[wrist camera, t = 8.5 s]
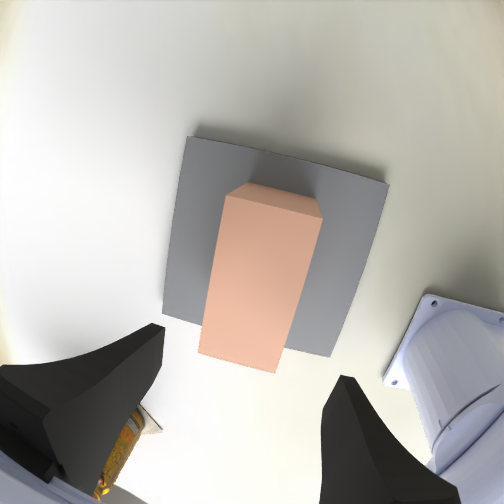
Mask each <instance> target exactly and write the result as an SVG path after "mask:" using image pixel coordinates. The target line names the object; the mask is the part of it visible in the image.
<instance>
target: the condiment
mask: <svg viewBox="0 0 504 504" xmlns="http://www.w3.org/2000/svg"><path fill="white" fill-rule="evenodd" d="M161 432H163V431H162V430H161V429H160V428H159V426H158V425H157V424H156V423H155V422H154V421H153V419H152V418H150V416H149V415H148V414H147V412H146V411H145V410H144V409H143V408H142V407H141V406H140V405H138V406H137V408H136V409H135V411H134V412H133V414H132V415H131V416H130V418H129V419H128V421H127V423H126V424H125V426H124V427H123V429H122V431H121V433H120V435H119V437H118V439H117V441H116V443H115V445H114V447H113V449H112V451H111V453H110V456H109V458H108V460H107V462H106V464H105V467H104V469H103V471H102V474H101V476H100V478H99V481H98V483H97V486H96V488H95V491H94V494H93V496H92V497H93V498H95V499H97V500H99V501H100V499H101V495H103V494H106V493H108V492H109V491H110V489H111V487H112V486H113V483H114V482H115V481H116V479H117V478H118V475H119V473H120V471H121V469H122V468H123V466H124V464H125V462H126V461H127V459H128V457H129V456H130V453H131V451H132V450H133V448H134V446H135V444H136V442H137V441H138V439H139V437H140V435H141V434H151V433H152V434H154V433H161Z"/></svg>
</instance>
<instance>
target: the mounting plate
mask: <svg viewBox="0 0 504 504" xmlns="http://www.w3.org/2000/svg"><path fill="white" fill-rule="evenodd" d="M247 182H250V183H254V184H258V185H263V186H267V187H271V188H275V189H279V190H283V191H287V192H291V193H295V194H299V195H303V196H307V197H311V198H315V199H316V200H317V203H318V206H319V209H320V212H321V215H322V218H323V220H322V224H321V227H320V231H319V234H318V238H317V242H316V245H315V249H314V252H313V255H312V259H311V262H310V266H309V269H308V272H307V276H306V279H305V282H304V286H303V289H302V292H301V295H300V299H299V302H298V305H297V308H296V311H295V315H294V318H293V321H292V324H291V327H290V330H289V333H288V336H287V339H286V342H285V345H284V347H285V348H289V349H293V350H297V351H302V352H306V353H311V354H316V355H320V356H325V357H330V355H331V353H332V351H333V348H334V346H335V344H336V341H337V339H338V336H339V334H340V331H341V329H342V326H343V324H344V321H345V319H346V316H347V314H348V311H349V308H350V306H351V303H352V300H353V298H354V295H355V292H356V290H357V287H358V284H359V281H360V278H361V275H362V273H363V270H364V267H365V264H366V261H367V258H368V255H369V252H370V249H371V246H372V243H373V239H374V236H375V233H376V230H377V227H378V223H379V220H380V217H381V213H382V210H383V206H384V203H385V199H386V196H387V192H388V188H389V185H388V184H386V183H383V182H380V181H377V180H374V179H370V178H367V177H364V176H360V175H357V174H354V173H350V172H347V171H343V170H339V169H336V168H332V167H329V166H325V165H321V164H317V163H313V162H310V161H306V160H302V159H298V158H293V157H289V156H285V155H281V154H277V153H272V152H268V151H263V150H259V149H254V148H249V147H244V146H239V145H234V144H229V143H224V142H219V141H213V140H208V139H202V138H196V137H188V136H187V140H186V145H185V150H184V156H183V161H182V167H181V172H180V178H179V184H178V190H177V196H176V203H175V209H174V216H173V223H172V230H171V237H170V245H169V253H168V261H167V270H166V278H165V288H164V298H163V308H162V314H165V315H168V316H171V317H175V318H178V319H181V320H184V321H188V322H191V323H194V324H198V325H201V326H202V323H203V317H204V311H205V306H206V300H207V294H208V288H209V283H210V277H211V271H212V266H213V260H214V255H215V249H216V244H217V239H218V233H219V228H220V223H221V218H222V213H223V208H224V203H225V198H226V195H227V194H229V193H230V192H232V191H234V190H235V189H237V188H239V187H240V186H242V185H244V184H245V183H247Z"/></svg>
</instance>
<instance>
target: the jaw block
mask: <svg viewBox="0 0 504 504" xmlns="http://www.w3.org/2000/svg"><path fill="white" fill-rule="evenodd" d="M322 220H323V218H322V215H321V212H320V209H319V206H318V203H317V200H316V199H315V198H311V197H307V196H303V195H299V194H295V193H291V192H287V191H283V190H279V189H275V188H271V187H267V186H263V185H258V184H254V183H250V182H247V183H245V184H244V185H242V186H240V187H239V188H237V189H235V190H234V191H232V192H230V193H229V194H227V195H226V198H225V203H224V208H223V213H222V218H221V223H220V228H219V233H218V239H217V244H216V249H215V255H214V260H213V266H212V271H211V277H210V283H209V288H208V294H207V300H206V306H205V311H204V317H203V323H202V329H201V336H200V342H199V348H198V353H200V354H204V355H207V356H211V357H214V358H217V359H221V360H225V361H228V362H232V363H236V364H239V365H243V366H247V367H251V368H255V369H259V370H263V371H267V372H271V373H275V372H276V369H277V366H278V363H279V360H280V357H281V354H282V351H283V348H284V345H285V342H286V339H287V336H288V333H289V330H290V327H291V324H292V321H293V318H294V315H295V311H296V308H297V305H298V302H299V299H300V295H301V292H302V289H303V286H304V282H305V279H306V276H307V272H308V269H309V266H310V262H311V259H312V255H313V252H314V249H315V245H316V242H317V238H318V234H319V231H320V227H321V224H322Z"/></svg>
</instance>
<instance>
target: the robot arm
mask: <svg viewBox="0 0 504 504" xmlns="http://www.w3.org/2000/svg"><path fill="white" fill-rule="evenodd" d="M435 300H436V302H435V304H433V305H431V303H432V302H433V301H435ZM500 318H501V319H500ZM499 319H500V320H499ZM164 336H165V327H162V326H159V325H156V324H154V323H151V324H149V325H147V326H145V327H143V328H141V329H139V330H137V331H135V332H133V333H131V334H130V335H128V336H126V337H124V338H122V339H120V340H118V341H116V342H114V343H111V344H109V345H107V346H104V347H102V348H100V349H97V350H95V351H92V352H89V353H87V354H83V355H80V356H77V357H73V358H69V359H64V360H60V361H55V362H49V363H42V364H30V365H2V366H1V367H0V504H105V503H103V502H101V501H99V500H97V499H95V498H93V497H92V496H93V494H94V491H95V488H96V486H97V483H98V481H99V478H100V476H101V474H102V471H103V469H104V467H105V464H106V462H107V460H108V458H109V456H110V453H111V451H112V449H113V447H114V445H115V443H116V441H117V439H118V437H119V435H120V433H121V431H122V429H123V427H124V426H125V424H126V423H127V421H128V419H129V418H130V416H131V415H132V414H133V412H134V411H135V409H136V408H137V406H138V405H139V403H140V402H141V400H142V399H143V397H144V396H145V395H146V393H147V392H148V390H149V389H150V387H151V386H152V384H153V382H154V380H155V378H156V376H157V374H158V372H159V370H160V368H161V366H162V357H163V346H164ZM394 380H396V381H395V382H392V381H394ZM382 382H383V385H384V386H389V387H396V388H403V389H411V392H412V395H413V398H414V401H415V404H416V406H417V409H418V412H419V415H420V418H421V421H422V424H423V428H424V431H425V434H426V437H427V440H428V443H429V447H430V450H431V453H432V458H431V460H430V461H429V462H428V463H427V464H426V465H425V466H424V465H423V464H422V463H420V462H419V461H418V460H417V459H416V458H415V457H414V456H413V455H412V454H410V453H409V452H408V451H407V450H406V449H405V448H404V447H403V446H402V444H401V443H400V442H399V441H398V440H397V439H396V438H395V437H394V435H393V434H392V433H391V432H390V431H389V429H388V428H387V427H386V425H385V424H384V423H383V421H382V420H381V418H380V417H379V416H378V414H377V413H376V411H375V410H374V408H373V407H372V405H371V403H370V402H369V400H368V399H367V397H366V395H365V394H364V392H363V390H362V389H361V387H360V386H359V384H358V382H357V381H356V379H355V378H354V377H348V376H343V375H340V377H339V379H338V381H337V383H336V385H335V387H334V389H333V391H332V393H331V394H330V396H329V398H328V400H327V402H326V404H325V406H324V407H323V411H322V420H321V456H322V484H321V493H320V501H319V504H504V313H502V312H499V311H495V310H491V309H487V308H483V307H479V306H475V305H472V304H468V303H464V302H460V301H456V300H452V299H448V298H444V297H440V296H437V295H433V294H425V295H424V296H423V297H422V299H421V301H420V303H419V305H418V308H417V310H416V312H415V314H414V317H413V319H412V321H411V323H410V325H409V328H408V330H407V332H406V334H405V336H404V338H403V340H402V342H401V344H400V346H399V348H398V350H397V352H396V354H395V356H394V358H393V360H392V362H391V364H390V366H389V368H388V369H387V371H386V373H385V375H384V377H383V379H382Z"/></svg>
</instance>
